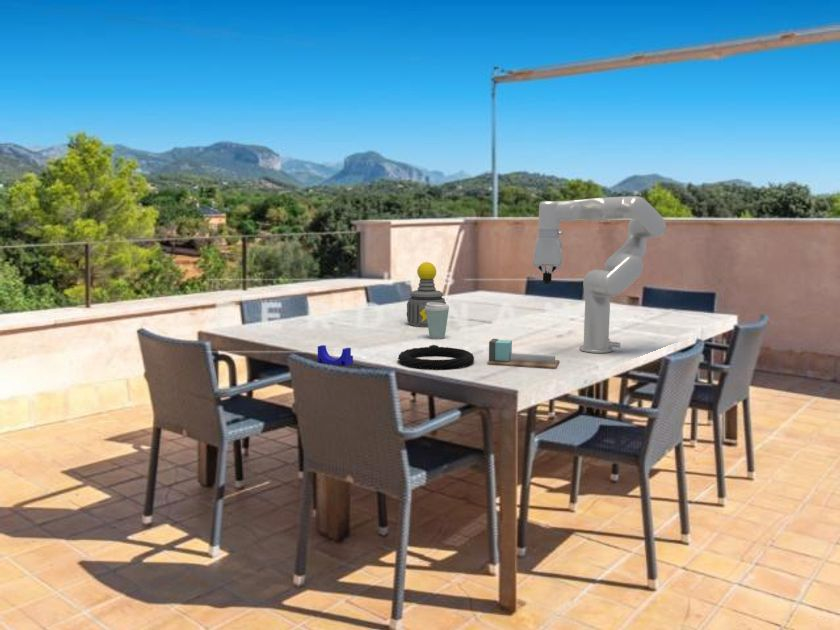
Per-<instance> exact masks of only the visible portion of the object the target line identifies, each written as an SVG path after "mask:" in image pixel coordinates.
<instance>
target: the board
mask: <svg viewBox="0 0 840 630" xmlns="http://www.w3.org/2000/svg"><path fill="white" fill-rule="evenodd" d="M486 364H487V365H490V366H503V367H504V366H505V367H517V368H518V367H519V368H533V369H550V370H556V369H557V367H558V366H559V364H560V360H558V359H555V364H547V363H532V362H516V361H498V360H495V361H489V360H488V361H487V363H486Z"/></svg>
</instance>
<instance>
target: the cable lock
mask: <svg viewBox="0 0 840 630" xmlns="http://www.w3.org/2000/svg"><path fill="white" fill-rule="evenodd" d="M420 357H449V358H451V359H430V358H429V359H426V358H420ZM397 359H398V362H399V363H400V364H401V365H403V366H405V367H409V368H413V369H420V370H453V369H462V368H465V367H469V366H471V364H473V363H474V362H475V356H474V354H473V352H472V353H471V352H470V351H468V350H465V349H462V348H457V347H456V348H455V347H447V346H446V347H444V346H439V345H436V344H432V345H429V346H425V347H413V348H411V349H409V348H408V349H406V350H403V351H401V352H400V353H399V354H398V357H397Z"/></svg>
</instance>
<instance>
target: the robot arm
mask: <svg viewBox="0 0 840 630" xmlns="http://www.w3.org/2000/svg"><path fill="white" fill-rule="evenodd" d="M622 219H624V220H625V219H627V220H628V219H630V221H629V223H628V228H627V229H628V230H627V232H628V237H627V240H626V242H624V244H623V245H622V246H621V247H620V248H619V249H617V250H616V251H615V252H614V253H613V254H612V255H611V256H610V257H608V258H607V260H606V262H605V264H604V269H605V270H603V269H593V270H590V271H589V272H588V273H587V272H586V274H585V276H584V278H583V285H582V287H583V292H584V321H583V323H584V325H583V344H582V345H580V346H579V350H580V351H582V352H586V353H591V354H606V353H611V352H612V351H613V348H621V342H618V341H611V339H610V338H609V335H610V319H611V318H610V317H611V315H610V314H611V313H610V312H611V303H610V298H611V297H612V298H615V297H617V296H619V295H621V294H622V293H623V292H624V291H625V290H626V289H628V288H629V287H630V286H631V285H632V284H633V283H634V282H636V281H637V280H638V278H640V276H641V274H642V273H643V269H644V261H643V259H642V258H643V257H644V255H645V254H646V251H647V238H649V239H650V238H651V239H656V238H660V237H661V236H663V235H664V234H665V233H666V229H667V223H666V221H665V218H664V217H663V216H662V215H661V213H659V212H658V211H657V210H656V208H654V207H653V206H652V205H651V204H650V203H649V202H648V201H647V200H646V199H645V198H644V197H641V196H638V195H637V196H634V195H633V196H632V195H631V196H612V197H609V196H608V197H594V198H587V199H586V198H585V199H575V200H572V199H571V200H556V201H554V200H553V201H551V200H550V201H549V200H548V201H547V200H545V201H541V202H540V203H539V207H538V233H537V234H538V235H537V236H538V237H537V238H535V239H536V240H535V244H534V250H533V251H534V253H533V265H532V267H533V268H534V269H539V270H540V271H541V272H542V282H544V284H545V285H549V284H550V283H552V274H553V272H554V271H555V270H557V269H562V268H563V264H562V263H563V262H562V261H563V248H562V247H563V246H562V245H563V244H562V239H561V238H559V237H560V236H563V235H564V234H563V233H564V231H560V222H574V221H578V220H579V221H580V220H582V221H607V220H608V221H611V220H622ZM547 266H549V268H548V271H547Z"/></svg>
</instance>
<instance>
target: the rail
mask: <svg viewBox="0 0 840 630" xmlns="http://www.w3.org/2000/svg"><path fill="white" fill-rule="evenodd" d="M555 360H556V356H555V355H547V354H546V355H543V354H530V353H529V354H528V353H513V352H512V353H510V354H509V361H516V362H532V363H547V364H555Z"/></svg>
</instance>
